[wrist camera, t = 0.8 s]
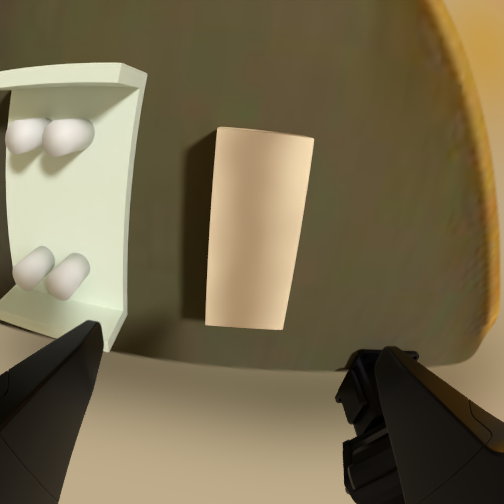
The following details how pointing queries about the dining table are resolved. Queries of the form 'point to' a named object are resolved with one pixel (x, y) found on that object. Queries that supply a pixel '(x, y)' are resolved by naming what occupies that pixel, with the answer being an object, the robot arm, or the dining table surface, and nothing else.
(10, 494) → the robot arm
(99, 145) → the pale green pegged panel
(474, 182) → the dining table surface
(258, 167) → the beige tapered block
